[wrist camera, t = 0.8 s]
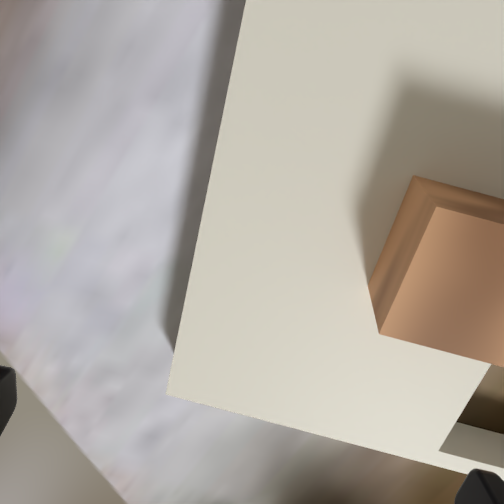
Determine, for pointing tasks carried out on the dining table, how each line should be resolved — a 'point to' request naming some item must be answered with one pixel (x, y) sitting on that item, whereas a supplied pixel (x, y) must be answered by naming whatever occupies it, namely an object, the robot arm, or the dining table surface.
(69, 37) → the dining table surface
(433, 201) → the block
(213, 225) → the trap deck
